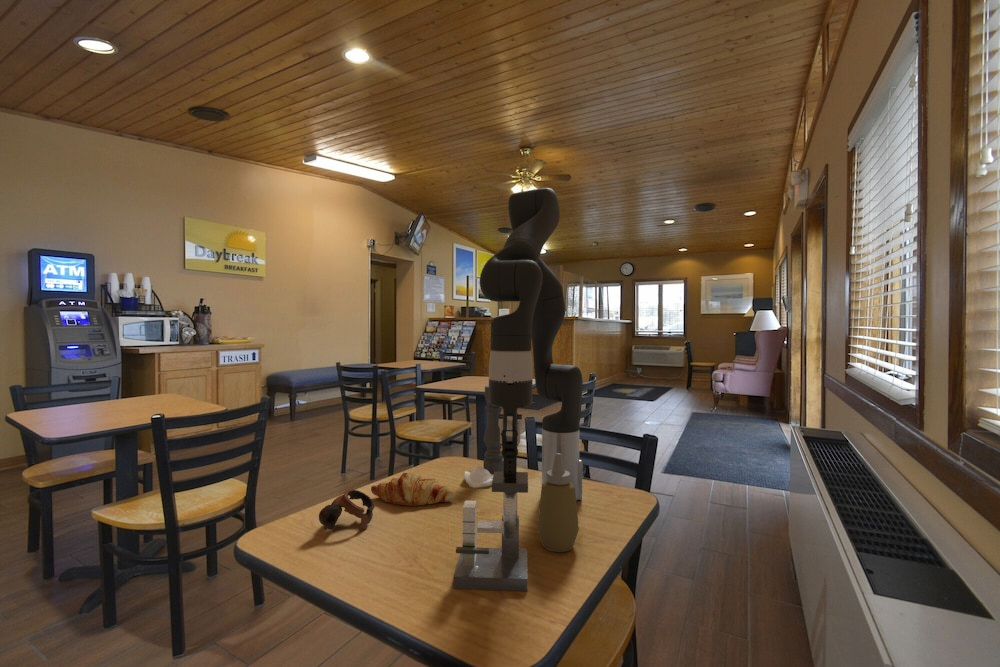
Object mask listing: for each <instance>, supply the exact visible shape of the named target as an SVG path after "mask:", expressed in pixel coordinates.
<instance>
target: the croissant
mask: <svg viewBox="0 0 1000 667" xmlns="http://www.w3.org/2000/svg"><path fill="white" fill-rule="evenodd" d="M370 491H371V493H372V494H373V495H374V496H376V497H378V498H380V499H381V500H382V501H383V502H385V503H388V504H389V503H390V504H393V505H398V506H410V507H416V506H417V507H418V506H424V505H432V504H437V503H447V502H451V501H453V500H454V499H455V497H456V496H455V495H456V494H455V492H453V491H452V490H451V489H450V488H449V487H448V486H446V485H441V484H440V483H439V482H438V481H436V479H434V478H423V477H422V476H421V475H420V474H417V473H413V472H403V473H401V475H400V477H398V478H397V477H394V478H392V479H390V481H388V482H380V483H378V484H377V485H372V486H371V487H370Z"/></svg>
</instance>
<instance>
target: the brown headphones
mask: <svg viewBox="0 0 1000 667" xmlns="http://www.w3.org/2000/svg"><path fill="white" fill-rule="evenodd" d="M343 493H344V494H342V495H339V496H337V497H336V498H335V499H334V500H333V501H332V502H331V504H328V505H325V507H322V509H320V510H319V513H318V520H319V523H320V524H322V526H323V527H324V530H332V531H333V530H334V529H335V527H336V524H337V522H338V520H339V518H340V517H341V515H342V512H343V511H344V512H345V513H348V514H350V515H351V516H352V515H353V516H354V517H356V518H358V519H361V520H360V524H359V526H358V530H360V531H364V530H365V529H366V528H367V526H368V524H370V523H371V521H372V519H373V516H374V514H373V513H374V512H373V511H374V509H375V503H374V501H373V499H372V498H371V497H370V496H369V495H367V494H366V493H365V492H362V491H360V490H357V489H347V490H345V492H343ZM351 500H361V502H362V506H363V507H361V506H359V505H357V504H355V503H354V502H352V501H351ZM364 507H366V508H367V509H366V512H365V508H364ZM343 508H344V510H343Z"/></svg>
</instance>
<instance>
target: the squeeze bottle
mask: <svg viewBox="0 0 1000 667" xmlns="http://www.w3.org/2000/svg"><path fill="white" fill-rule="evenodd" d="M577 507H578V506H577V501H576V494H575V486H574V485H573V484H572V483H571V482H570V472H568V471H566V470H565V469H564V464H563V459H562V454H560V453H556V454H555V459H554V463H553V467H552V470H549V471H547V481H546V482H544V483H543V484H542V483H541V490H540V499H539V508H538V519H537V531H538V534H539V537H540V540H541V544H542V546H543V547H544V548H545V549H546V550H548V551H550V552H556V553H566V552H568V551H569V552H570V550H572V549H573V547H574V545H575V542H576V540H577V536H578V534H579V531H580V530H579V529H580V526H579V519H578V518H579V517H578V508H577Z"/></svg>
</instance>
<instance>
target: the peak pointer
mask: <svg viewBox="0 0 1000 667" xmlns="http://www.w3.org/2000/svg"><path fill="white" fill-rule="evenodd" d="M489 548H490V547H480V546H479V547H477V546H476V547H462V546H456V548H455V554H460V553H464V554H489Z"/></svg>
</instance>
